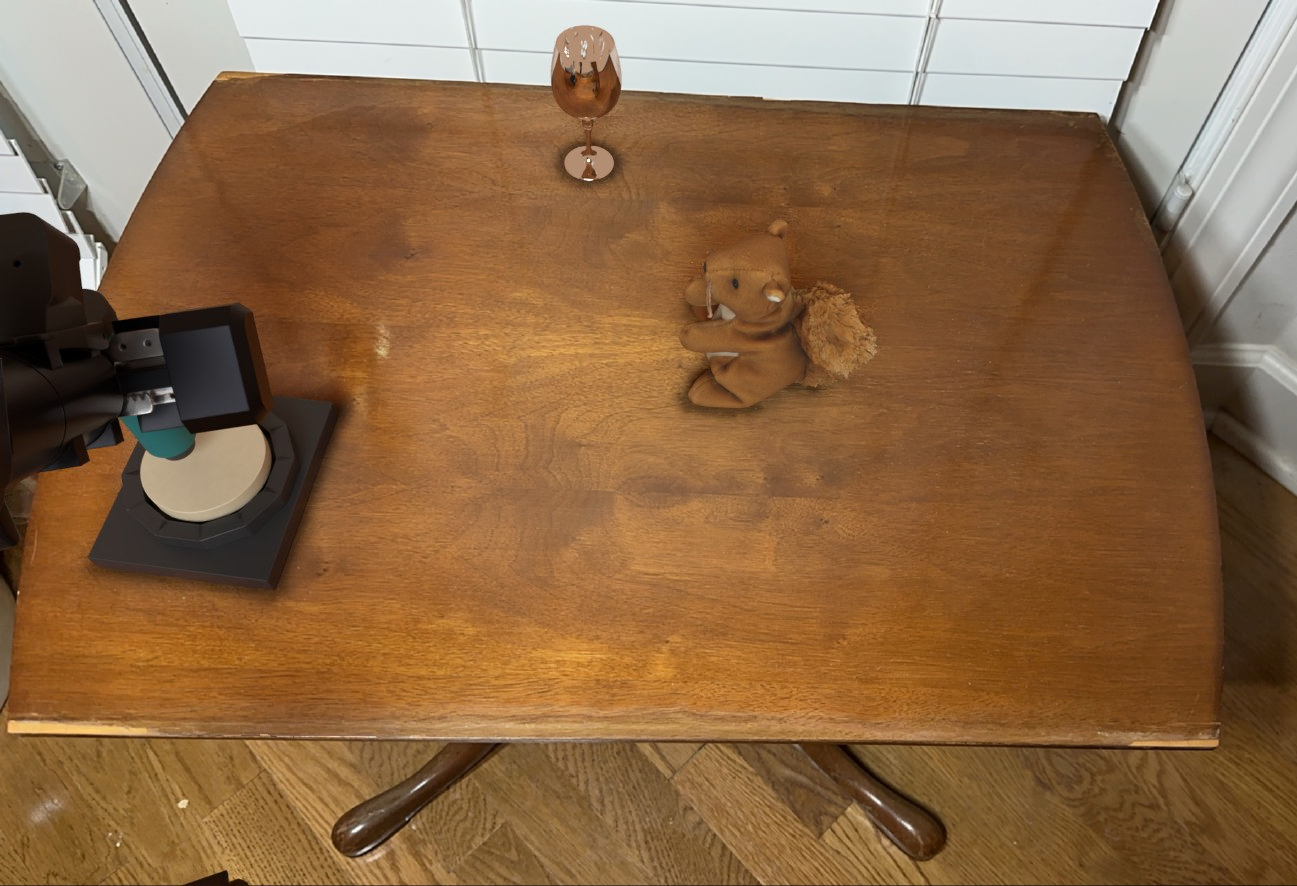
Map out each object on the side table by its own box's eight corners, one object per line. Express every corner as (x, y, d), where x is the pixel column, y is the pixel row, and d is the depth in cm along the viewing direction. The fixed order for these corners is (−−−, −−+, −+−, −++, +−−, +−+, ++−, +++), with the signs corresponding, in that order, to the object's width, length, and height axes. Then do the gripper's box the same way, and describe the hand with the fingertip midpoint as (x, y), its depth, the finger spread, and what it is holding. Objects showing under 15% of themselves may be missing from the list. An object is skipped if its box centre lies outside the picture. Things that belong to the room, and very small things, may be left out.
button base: (275, 590, 60) (259, 572, 58) (98, 567, 61) (75, 548, 58) (338, 414, 67) (327, 391, 65) (180, 394, 68) (163, 370, 65)
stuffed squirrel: (686, 301, 74) (698, 176, 63) (861, 330, 73) (905, 208, 62) (664, 402, 69) (673, 286, 58) (852, 435, 68) (899, 323, 56)
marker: (216, 440, 60) (121, 305, 48) (176, 478, 58) (68, 348, 47) (180, 416, 61) (78, 278, 49) (139, 453, 59) (24, 319, 48)
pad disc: (248, 529, 60) (240, 520, 58) (129, 514, 60) (119, 504, 59) (288, 426, 64) (282, 415, 63) (176, 412, 64) (168, 401, 63)
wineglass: (620, 187, 80) (620, 68, 70) (554, 185, 80) (545, 66, 70) (622, 142, 83) (622, 22, 73) (559, 140, 83) (550, 19, 73)
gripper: (173, 198, 39) (262, 206, 54) (-322, 256, 36) (-83, 248, 51) (235, 451, 41) (304, 391, 56) (-221, 522, 39) (-22, 440, 54)
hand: (131, 365), depth 54 cm, fingers closed on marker, 3 cm apart
